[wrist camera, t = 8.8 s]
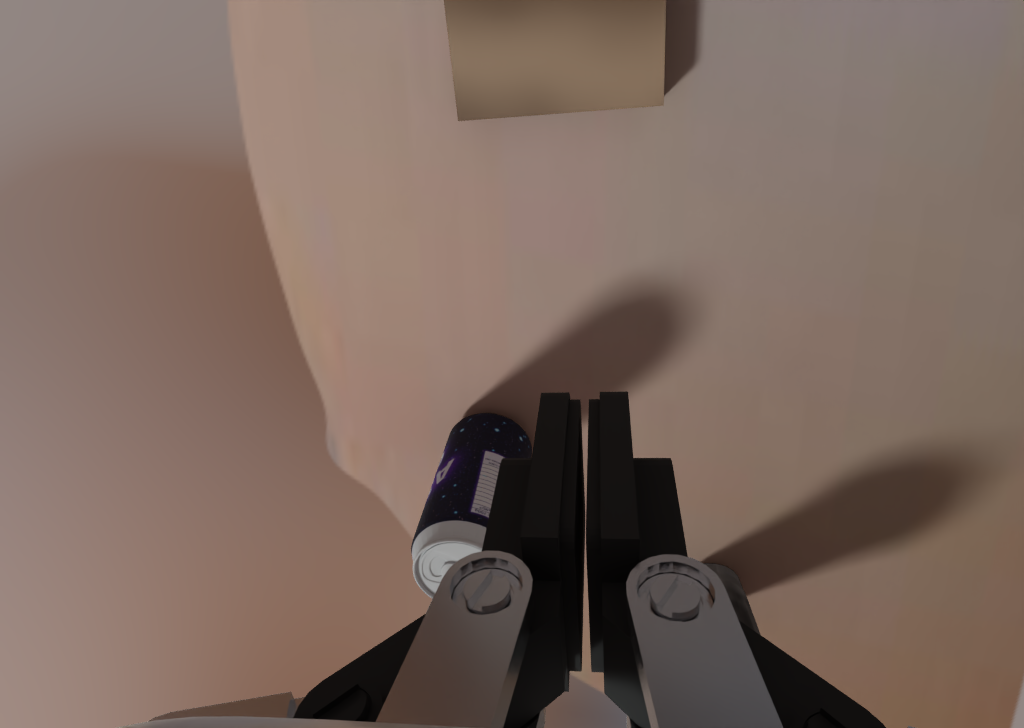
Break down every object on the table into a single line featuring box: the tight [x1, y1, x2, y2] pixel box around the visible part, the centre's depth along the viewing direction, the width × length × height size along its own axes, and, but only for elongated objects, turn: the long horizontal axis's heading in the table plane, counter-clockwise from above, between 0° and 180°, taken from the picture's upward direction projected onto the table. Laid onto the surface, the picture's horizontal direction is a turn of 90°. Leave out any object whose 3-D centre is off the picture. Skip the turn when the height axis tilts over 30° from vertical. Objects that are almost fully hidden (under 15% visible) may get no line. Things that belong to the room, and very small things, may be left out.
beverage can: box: [411, 413, 532, 599], centre depth 39 cm, size 6×6×12 cm
